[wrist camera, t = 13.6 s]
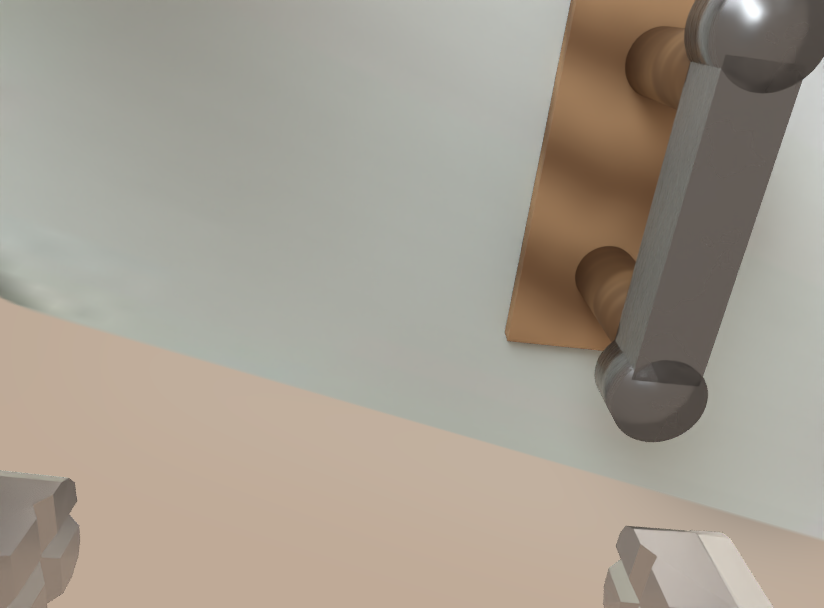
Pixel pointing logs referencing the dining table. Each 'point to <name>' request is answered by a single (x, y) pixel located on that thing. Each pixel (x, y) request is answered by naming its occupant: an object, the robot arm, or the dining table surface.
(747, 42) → the metal bar
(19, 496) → the robot arm
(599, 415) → the dining table surface
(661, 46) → the spanner rest
